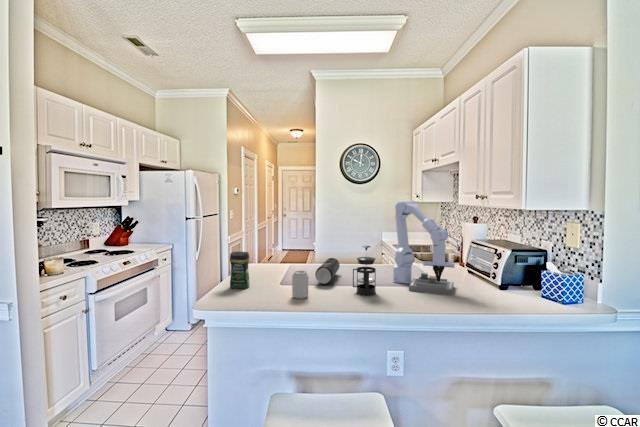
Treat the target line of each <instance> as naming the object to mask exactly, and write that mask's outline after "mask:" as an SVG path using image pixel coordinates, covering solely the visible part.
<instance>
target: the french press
mask: <svg viewBox="0 0 640 427" xmlns="http://www.w3.org/2000/svg"><path fill="white" fill-rule="evenodd" d="M361 247H362V248H365V249H364V250H365V256H360V257H356V260H357V264H360V265H365V266H359V267H357V268H353V269H352V288H356V292H355V293H356V294H357V295H359V296H363V295H365V296H364V297H370V296H375V295H376V293H377V292H376V285H375V284H372V283H376V280H377V279H376V268H375V267H372V266H370V265H373V264H374V263H375V261H376V260H377V258H376V257H371V256H368V252H367V251H368V248H371V246H370V245H362V246H361ZM367 265H368V266H367ZM354 271H356V285H354V284H355V278H354V277H355V276H354V275H355V272H354ZM358 273H360V274H363V277H360V278H358V275H359V274H358ZM370 274H374V278H372V277H371V278H370ZM358 283H360V284H358Z"/></svg>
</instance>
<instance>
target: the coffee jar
mask: <svg viewBox="0 0 640 427" xmlns="http://www.w3.org/2000/svg"><path fill="white" fill-rule="evenodd" d="M229 262H230V278H229V280H230V281H229V287H230V288H231V289H233V288H236V289H237V290H245V289H248V288H249V287H250V282H251V281H250V275H249V262H250V254H249V252H248V251H232V252H231V253H230V254H229ZM244 288H245V289H244Z"/></svg>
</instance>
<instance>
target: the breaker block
mask: <svg viewBox="0 0 640 427" xmlns="http://www.w3.org/2000/svg"><path fill="white" fill-rule="evenodd" d="M411 280H412V282H411V283H410V284H409V285H408V291H409V292H415V291H418V293H425V292H429V293H428V294H434V293H437V295H444V294H445V296H453V292H454V286H455V285H454V281H448V279H447V278H440V282H437V278H436V284H432V283H429V273H428V272H426V271H425V272H424V271H421V272H420V276H418V278H413V279H411Z"/></svg>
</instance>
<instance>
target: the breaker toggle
mask: <svg viewBox="0 0 640 427" xmlns="http://www.w3.org/2000/svg"><path fill="white" fill-rule="evenodd" d="M428 278H429V283H432V284H436V275H428Z"/></svg>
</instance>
